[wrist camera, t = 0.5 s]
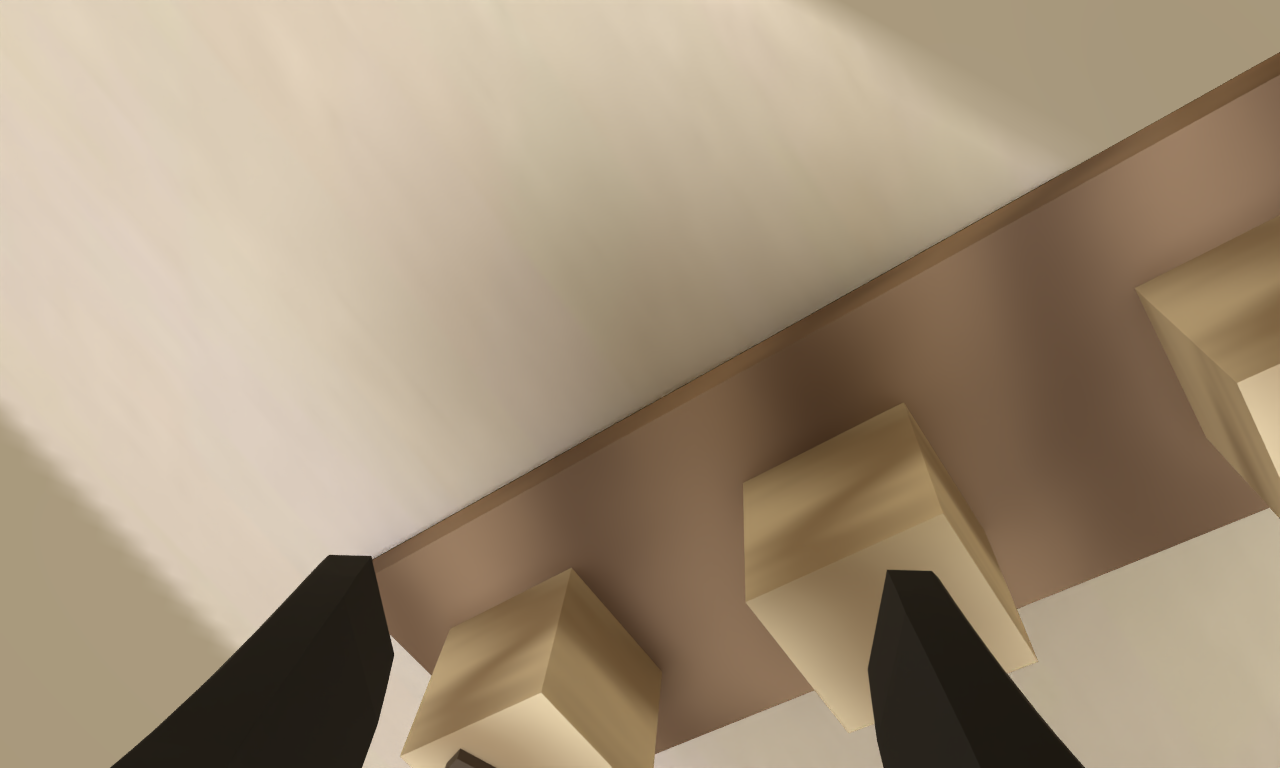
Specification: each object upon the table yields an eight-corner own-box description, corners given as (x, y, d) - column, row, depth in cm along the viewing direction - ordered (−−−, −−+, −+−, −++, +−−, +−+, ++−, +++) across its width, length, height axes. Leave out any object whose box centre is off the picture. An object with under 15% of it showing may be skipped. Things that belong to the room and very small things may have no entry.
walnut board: (1379, -4, 17) (1413, 0, 17) (1500, 380, 21) (1534, 400, 20) (358, 567, 27) (345, 590, 26) (557, 769, 30) (552, 795, 29)
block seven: (571, 567, 25) (538, 703, 20) (662, 671, 26) (648, 817, 22) (449, 628, 26) (395, 766, 22) (542, 724, 28) (508, 870, 23)
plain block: (903, 402, 21) (942, 513, 17) (985, 532, 23) (1038, 662, 19) (742, 483, 23) (745, 601, 19) (829, 600, 24) (848, 733, 20)
